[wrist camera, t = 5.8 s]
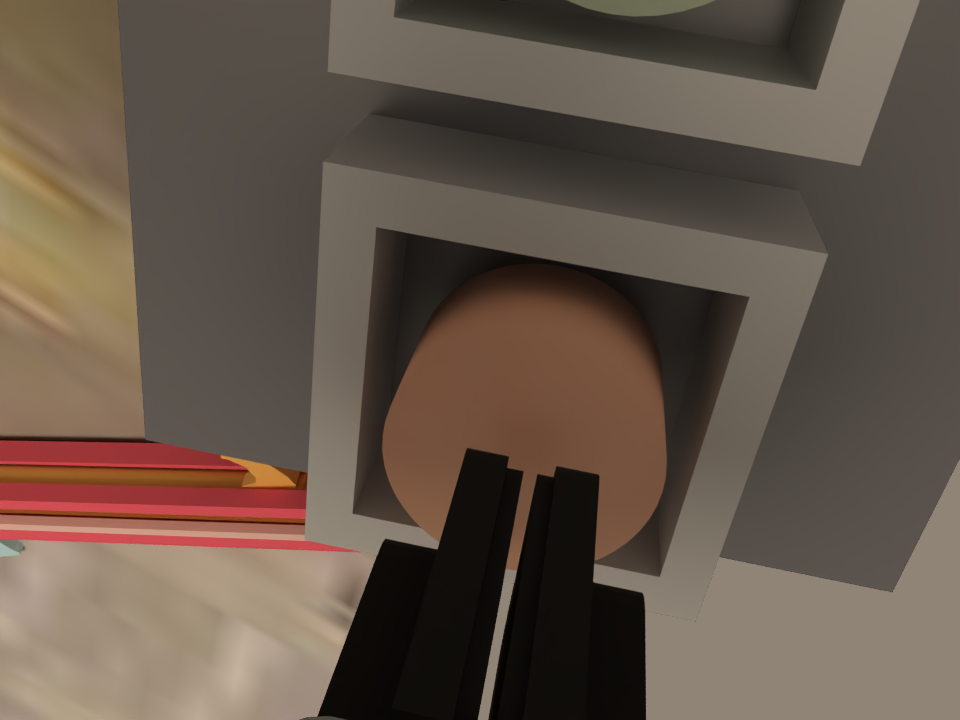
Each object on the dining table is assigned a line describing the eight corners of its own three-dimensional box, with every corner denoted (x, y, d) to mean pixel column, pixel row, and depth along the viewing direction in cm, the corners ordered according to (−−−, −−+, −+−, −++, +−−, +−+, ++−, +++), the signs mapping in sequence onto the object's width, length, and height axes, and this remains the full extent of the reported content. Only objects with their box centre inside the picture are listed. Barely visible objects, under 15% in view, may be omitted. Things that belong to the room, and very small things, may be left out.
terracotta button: (430, 241, 14) (395, 311, 12) (689, 290, 14) (699, 370, 12) (405, 451, 16) (372, 541, 14) (631, 496, 16) (631, 595, 14)
